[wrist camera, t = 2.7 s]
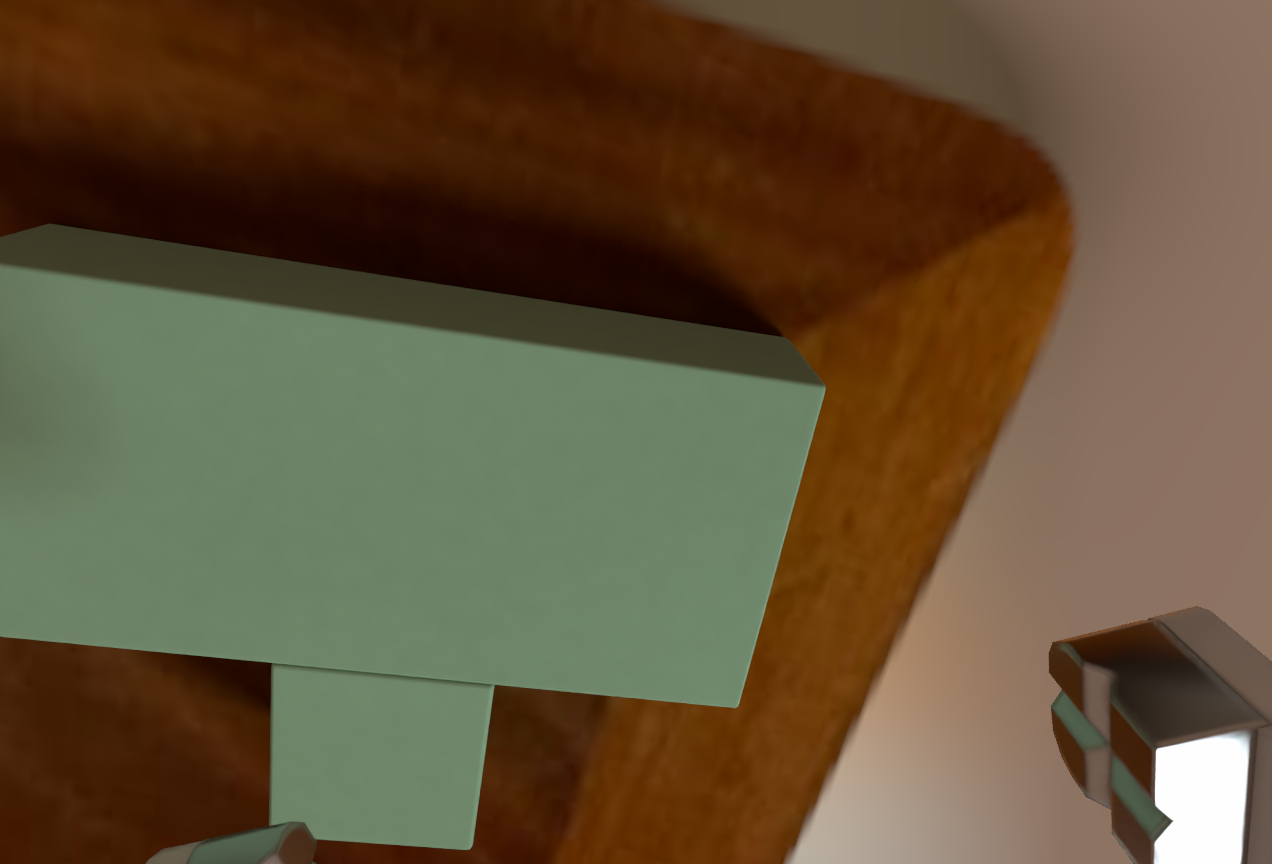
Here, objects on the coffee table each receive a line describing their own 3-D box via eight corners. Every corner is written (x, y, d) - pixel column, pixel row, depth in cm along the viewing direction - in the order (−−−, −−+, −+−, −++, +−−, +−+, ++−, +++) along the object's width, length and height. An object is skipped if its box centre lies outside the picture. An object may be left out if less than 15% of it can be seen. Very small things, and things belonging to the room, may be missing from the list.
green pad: (788, 336, 15) (828, 386, 12) (680, 768, 18) (695, 868, 16) (47, 222, 13) (-67, 253, 11) (91, 717, 17) (13, 819, 14)
